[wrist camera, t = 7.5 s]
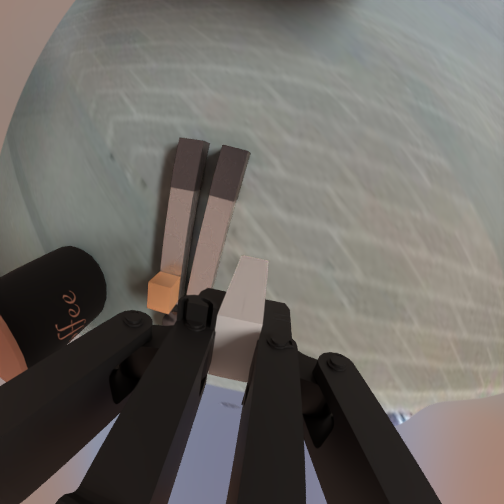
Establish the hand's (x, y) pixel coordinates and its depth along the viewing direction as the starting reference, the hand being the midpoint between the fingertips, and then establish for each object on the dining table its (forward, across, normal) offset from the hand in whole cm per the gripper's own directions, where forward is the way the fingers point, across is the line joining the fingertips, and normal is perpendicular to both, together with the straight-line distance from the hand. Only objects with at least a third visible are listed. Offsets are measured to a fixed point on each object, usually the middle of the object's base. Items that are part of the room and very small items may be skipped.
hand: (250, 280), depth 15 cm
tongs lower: (+14, -8, -3) cm, 16 cm away
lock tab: (+12, -9, -8) cm, 16 cm away
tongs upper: (+14, -5, -1) cm, 15 cm away
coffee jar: (+14, -23, -12) cm, 30 cm away
